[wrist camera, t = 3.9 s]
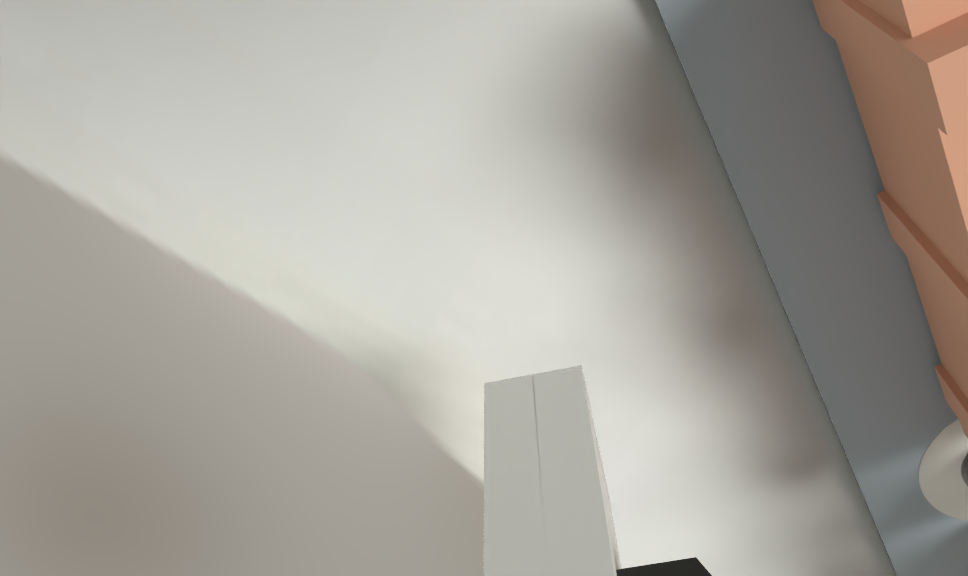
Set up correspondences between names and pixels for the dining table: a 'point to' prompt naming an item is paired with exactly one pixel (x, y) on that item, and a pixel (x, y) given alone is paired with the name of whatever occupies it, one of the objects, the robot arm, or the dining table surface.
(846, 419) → the card
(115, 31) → the dining table surface
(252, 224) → the dining table surface
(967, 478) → the hinge post
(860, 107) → the swing panel
